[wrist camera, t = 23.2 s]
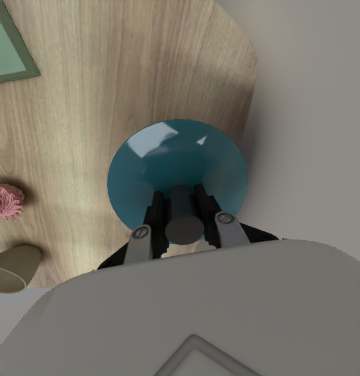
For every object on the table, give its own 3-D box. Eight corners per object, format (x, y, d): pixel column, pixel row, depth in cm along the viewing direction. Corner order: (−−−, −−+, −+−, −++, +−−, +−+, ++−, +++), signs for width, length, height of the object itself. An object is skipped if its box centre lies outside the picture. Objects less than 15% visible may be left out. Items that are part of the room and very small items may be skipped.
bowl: (55, 245, 33) (27, 274, 26) (49, 266, 36) (24, 297, 30) (6, 232, 30) (-38, 262, 23) (5, 257, 33) (-34, 288, 27)
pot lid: (248, 105, 10) (318, 92, 6) (238, 227, 17) (267, 271, 12) (85, 135, 11) (11, 147, 6) (136, 244, 17) (122, 295, 12)
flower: (30, 174, 24) (-5, 188, 19) (47, 209, 28) (20, 228, 23) (-18, 171, 23) (-69, 185, 18) (5, 207, 27) (-32, 227, 22)
